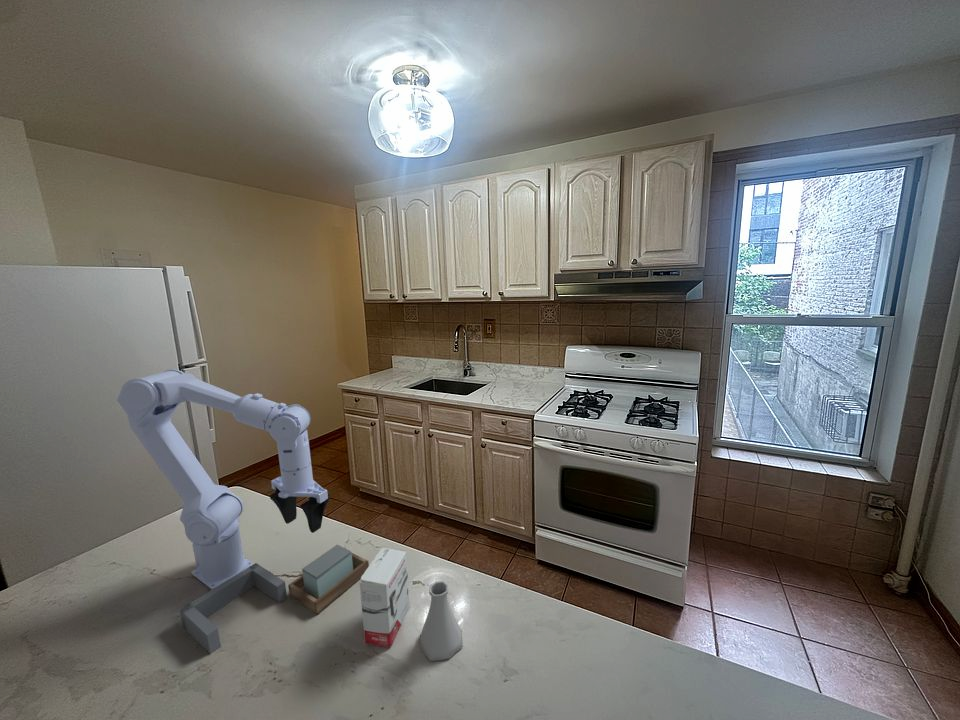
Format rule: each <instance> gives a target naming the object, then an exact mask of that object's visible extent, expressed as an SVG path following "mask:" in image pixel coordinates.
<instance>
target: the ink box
mask: <svg viewBox="0 0 960 720" xmlns="http://www.w3.org/2000/svg"><path fill="white" fill-rule="evenodd" d="M407 558H408V557H407V551H406V550H403V549H397V548H396V549H395V548H388V547H382V548H380V549H379V552H378V553H376V555H375V557H374V559H372V561H371V562H370V563H369V567H368V568H367V569H366V571H365V572H364V574H363V575H362V576H361V579H360V580H359V589H360V590H359V591H360V592H359V593H360V603H361V611H362V613H361V614H362V615H361V616H362V625H363V635H364V636H363V637H364V642H365V643H364V644H367V645H372V646H377V647H384V648H391V647H392V646H393V643H394V642H395V639H396V637H397V635H398V633H399V632H400V629H401V627H402V624H403V623H404V620H405V619H406V616H407V614H408V612H409V609H410V608H411V601H410V600H411V599H410V588H409V573H408V560H407Z"/></svg>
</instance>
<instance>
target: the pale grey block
mask: <svg viewBox="0 0 960 720" xmlns="http://www.w3.org/2000/svg"><path fill="white" fill-rule="evenodd" d="M352 553H353V552H352V551H351V550H350V549H348V548H345V547H344V546H341V545H339V544H336V545H334V546H333V547H332V548H330V549H329V550H327V551H325V552H324V553H323V554H321V555H320V556H319V557H317V558H315V559H314V560H313V561H311V562H310V563H308V564H307V565H305V566H304V567H302V569H301V570H302V575H303V579H304V587H305V592H307V593H308V594H310V595H311V596H313V597H314V598H316V599H318V598H319V597H321V596H322V595H323V594H324V593H326V592H327V591H328V590H329V589H331V588H332V587H333V586H334V585H336V584H337V583H338V582H339V581H341V580H342V579H343V578H344V577H346V576H347V575H348V574H349V573H351V572H352V571H353V563H352Z"/></svg>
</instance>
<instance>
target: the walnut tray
mask: <svg viewBox="0 0 960 720" xmlns="http://www.w3.org/2000/svg"><path fill="white" fill-rule="evenodd" d="M351 553H352V563H353V571H352V572H351V573H349V574H348V575H347V576H346V577H344V578H343V579H342V580H341V581H339V582H338V583H337V584H336V585H334V586H333V587H332V588H331V589H329V590H328V591H327V592H326V593H324V594H323V595H322V596H321V597H319V598H318V599H316V598H314V597H313V596H311V595H310V594H308V593H307V592H305V587H304V579H303V574H301V576H299V577H297V578H296V579H295V580H293V581H291V583H289V584H287V586H288V594H289V598H291V599H293V600H294V601H296V602H297V603H299V604H300V605H302V606H303V607H305V608H307V609H308V610H309V611H311V612H312V613H314V614H315V615H317V616H318V615H320V614H321V613H322V612H323V611H324V610H325V609H327V608H328V607H330V605H331V604H333V603H334V602H335V601H336V600H337V599H338V598H340V597H341V596H342V595H344V594H345V593H346V592H347V591H348V590H349V589H351V588H352V587H353V586H354V585H356V583H358V581H359V582H360V581H361V576H362V575H363V574H364V572H365V571H366V569H367V568H368V567H369V565H370V562H369V560H368V559H366V558H363V557H361V556H359V555H357V554H355V553H353V552H351Z"/></svg>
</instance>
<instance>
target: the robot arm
mask: <svg viewBox="0 0 960 720" xmlns="http://www.w3.org/2000/svg"><path fill="white" fill-rule="evenodd" d="M116 400H117V401H116V402H117V403H118V404H119V405H120V407H121V408H122V409H123V410H124V412H125V413H126V414H125V415H127V419H128V423H129V427H130V429H131V430H132V433H134V435H135V436H136V438H137V439H138V440H139V441H140V443H141V445H142V446H143V448H144V449H145V450H146V452H147V453H148V454H149V455H150V457H151V458H152V459H153V461H154V462H155V464H156V465H157V467H158V468H159V469H160V471H161V472H162V473H163V475H164V476H165V478H166V479H167V481H168V482H169V483H170V485H171V486H172V487H173V489H174V491H176V493H177V495H178V496H179V497H180V499H181V500H182V501H183V506H182V509H181V514H180V518H179V520H180V522H181V523H182V524H183V527H184V533H185V536H186V538H187V539H188V540H189V541H190V542H191V543H192V549H193V555H194V556H193V557H194V560H195V566H196V569H193V570H192V571H191V575H193V577H195V578H196V579H198V580H199V581H200V582H201V583H202V584H204V585H205V586H206V587H207V588H208V589H210V591H211V590H212V589H214V588H216V587H217V586H219V585H221V584H222V583H224V582H226V581H227V580H229V579H230V578H232V577H234V576H235V575H237V574H239V573H240V572H242V571H244V570H245V569H247V568H248V567H250V566H252V565H253V564H254V562H252V561H251V560H249V559H247V558H246V557H245V556H244V551H243V550H244V549H243V543H242V537H241V529H240V525H239V523H240V516H241V515H242V514H243V512H244V508H245V507H244V502H243V500H242V498H240V497H239V496H238V495H236V494H235V493H233V492H232V491H231V490H230V489H229V488H228V486H226V485H219V484H215V482H213V480H212V479H211V477H210V476H209V475H208V473H207V472H206V470H205V468H204V467H203V466H202V464H201V463H200V461H199V460H198V459H197V457H196V456H195V454H194V453H193V452H192V450H191V448H190V446H189V445H188V444H187V443H186V441H185V440H184V439H183V437H182V436H181V434H180V433H179V431H178V430H177V428H176V427H175V426H174V424H173V423H172V418H173V416H174V413H175V411H176V409H177V407H179V406H180V405H181V403H185V402H192V403H195V404H199V405H202V406H205V407H209V408H213V409H217V410H221V411H225V412H227V413H231V414H232V416H233V419H234V420H235V421H236V422H239V423H242V424H244V425H247V426H251V427H254V428H256V429H259V430H262V431H266V432H268V433H269V436H271V437H272V439H273V440H274V441H275V443H276V446H277V447H276V448H277V455H278V461H279V462H278V463H279V469H280V476H278V477H276V478H274V479H272V480H270V483H271V489H272V490H274V492H273V493H271V494H270V495H269V498H270V500H271V501H272V502H273V503H274V504H275V505H276V506H277V508H278V510H279V512H280V514H281V517H282V518H283V521H284V523H286V525H287V524H291V523H292V522H293V521H295V520H297V514H298V512H297V511H298V510H297V500H298V499H297V498H298V497H300V498H301V497H302V498H308V499H307V500H306V501H305V502H303V503H302V504H300V505H299V507H300V508H301V510H302V511H303V512H304V515H305V518H306V520H307V524H308V528H309V531H310V533H311V534H312V533H316V532H317V531H319V529H322V522H323V517H324V512H325V509H326V507H327V504H328V502H329V501H330V497H331V496H330V494H328V490H327V489H326V488H324V487H322V486H321V485H320V484H319V483H318V482H316V481H315V480H314V477H313V476H314V475H313V467H312V459H311V457H312V456H311V449H310V440H309V434H308V427H309V425H310V424H311V414H310V412H309V411H308V409H306V408H305V407H304V406H301V405H300V404H298V403H297V404H294V403H293V404H290V405H287V404H286V403H284V402H280V403H279V402H275V401H273V400H270V399H267V398H265V397H263V394H261V393H258V392H257V393H254V394H253V393H249V394H245V395H243V396H240V395H238V394H235V393H233V392H231V391H227V390H225V389H222V388H221V387H218V386H215V385H213V384H210V383H207V382H206V381H203V380H200V379H198V378H197V377H196V376H194V374H192V373H189V372H183V371H181V370H178V369H173V368H170V369H167V370H164V371H162V372H158V373H154V374H150V375H147V376H142V377H137V378H136V377H135V378H132V379H130V380H129V379H128V380H127V381H125V383H124V384H123V385H122V386H121V389H120V391H119V395H118V396H117V399H116Z"/></svg>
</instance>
